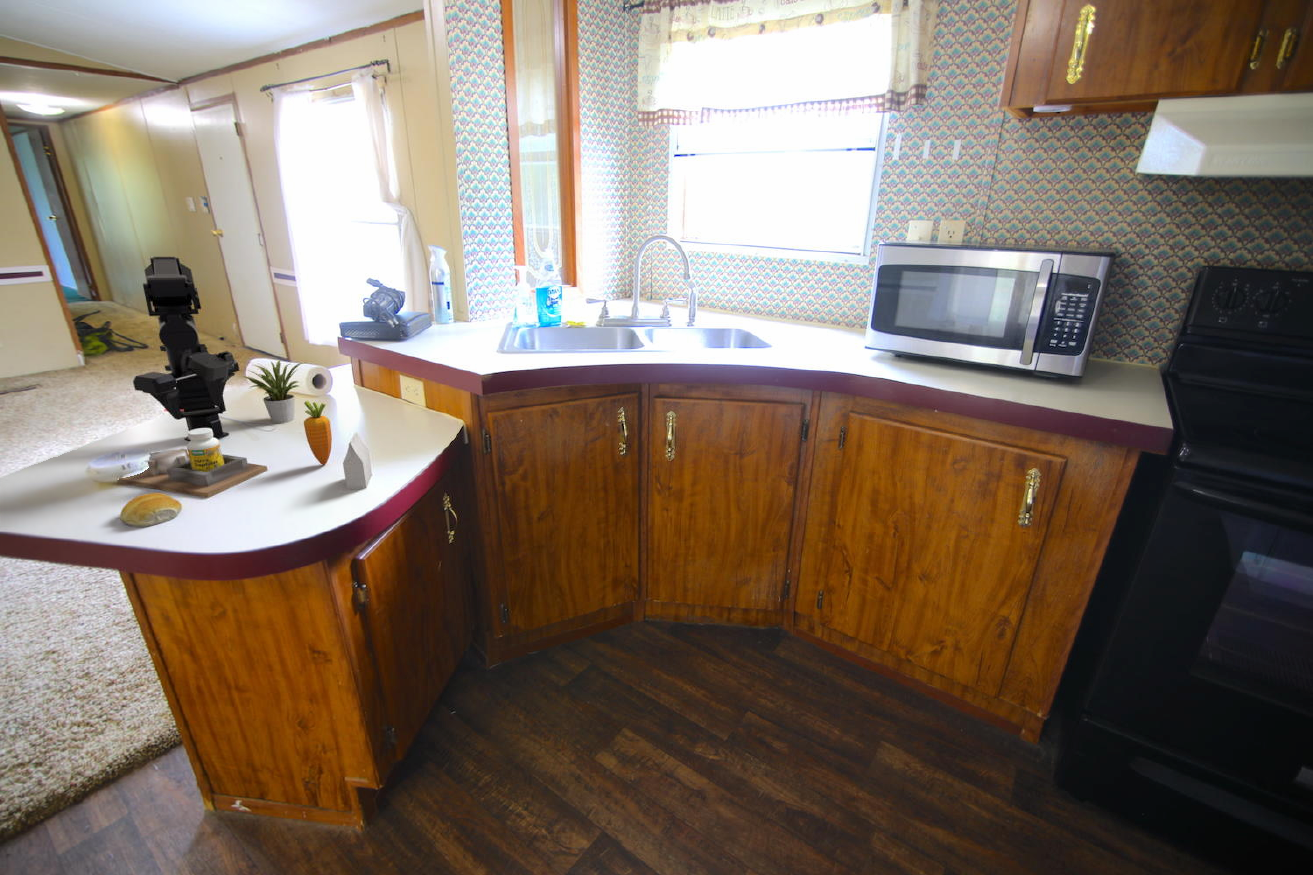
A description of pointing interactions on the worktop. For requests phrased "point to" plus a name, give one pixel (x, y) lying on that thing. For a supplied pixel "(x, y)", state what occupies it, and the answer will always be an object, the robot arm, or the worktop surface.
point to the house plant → (277, 393)
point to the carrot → (318, 432)
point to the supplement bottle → (204, 450)
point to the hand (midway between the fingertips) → (198, 412)
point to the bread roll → (150, 510)
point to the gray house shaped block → (357, 464)
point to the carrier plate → (192, 474)
